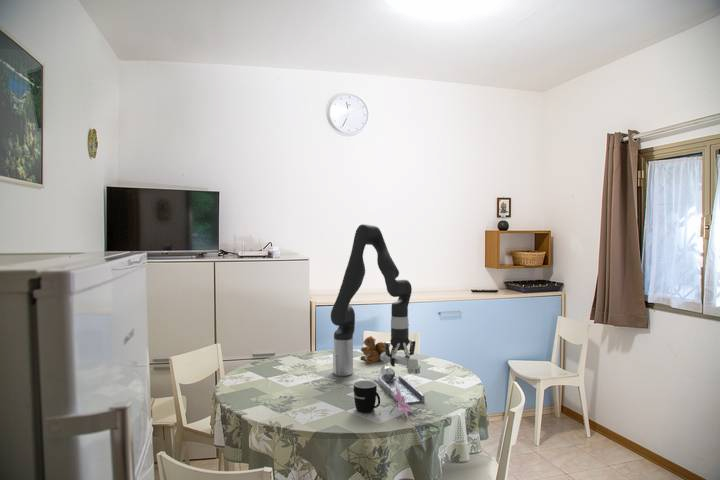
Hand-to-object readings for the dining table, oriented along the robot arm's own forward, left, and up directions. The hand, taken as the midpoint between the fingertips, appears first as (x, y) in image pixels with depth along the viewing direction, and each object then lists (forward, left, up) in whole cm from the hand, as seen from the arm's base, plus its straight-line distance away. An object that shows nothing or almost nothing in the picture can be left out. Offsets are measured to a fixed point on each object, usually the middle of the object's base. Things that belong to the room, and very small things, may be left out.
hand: (399, 365), depth 193 cm
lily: (-8, -23, -12) cm, 27 cm away
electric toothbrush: (0, 0, -1) cm, 1 cm away
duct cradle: (0, +2, -12) cm, 12 cm away
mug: (-19, -16, -12) cm, 27 cm away
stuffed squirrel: (+4, +49, -12) cm, 51 cm away
